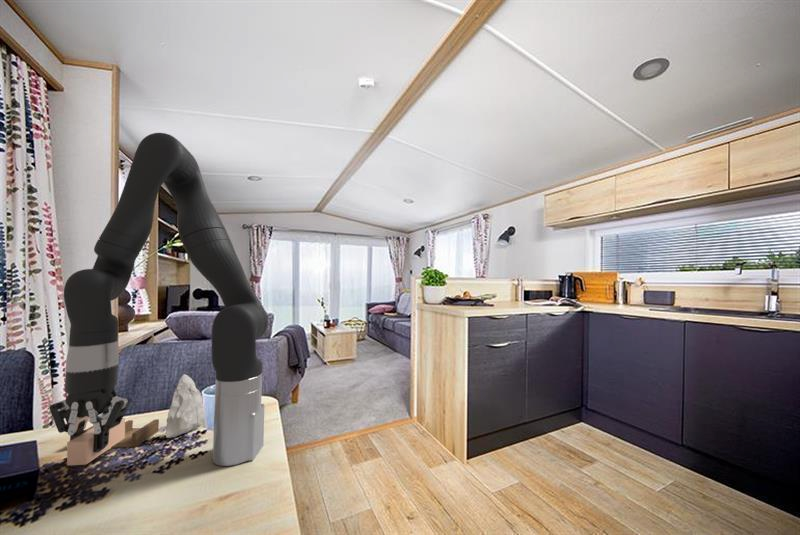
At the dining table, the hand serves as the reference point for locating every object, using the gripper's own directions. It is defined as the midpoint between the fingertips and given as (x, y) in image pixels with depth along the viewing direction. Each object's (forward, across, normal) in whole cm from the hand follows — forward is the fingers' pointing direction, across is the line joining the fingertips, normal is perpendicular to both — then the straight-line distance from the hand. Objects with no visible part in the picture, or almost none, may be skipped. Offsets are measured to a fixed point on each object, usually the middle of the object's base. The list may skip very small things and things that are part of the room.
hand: (88, 450), depth 59 cm
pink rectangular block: (+1, 0, -2) cm, 2 cm away
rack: (+4, +4, -12) cm, 13 cm away
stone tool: (+4, -11, -13) cm, 17 cm away
